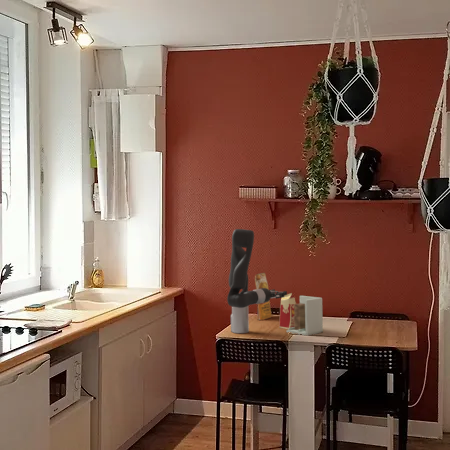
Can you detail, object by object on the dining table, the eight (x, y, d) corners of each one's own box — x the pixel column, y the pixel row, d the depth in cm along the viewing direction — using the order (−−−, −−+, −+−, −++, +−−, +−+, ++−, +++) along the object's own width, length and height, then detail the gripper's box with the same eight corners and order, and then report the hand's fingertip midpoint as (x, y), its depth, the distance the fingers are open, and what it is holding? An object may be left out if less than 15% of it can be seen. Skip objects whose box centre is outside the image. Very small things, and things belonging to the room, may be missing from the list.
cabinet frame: (286, 332, 395) (285, 298, 395) (301, 329, 404) (301, 295, 404) (307, 335, 384) (306, 300, 384) (322, 332, 393) (322, 297, 393)
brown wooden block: (294, 329, 396) (294, 304, 396) (301, 328, 400) (301, 303, 400) (300, 330, 393) (299, 305, 393) (307, 329, 397) (306, 303, 397)
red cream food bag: (299, 327, 410) (299, 292, 410) (289, 329, 404) (289, 294, 403) (287, 325, 417) (286, 291, 416) (277, 327, 410) (276, 293, 409)
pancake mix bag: (251, 320, 437) (250, 274, 436) (265, 315, 453) (264, 271, 452) (261, 321, 433) (260, 275, 432) (274, 316, 450) (274, 271, 449)
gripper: (269, 290, 367) (290, 286, 378) (249, 287, 377) (270, 283, 388) (269, 304, 367) (290, 300, 379) (249, 301, 378) (270, 297, 389)
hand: (280, 292), depth 383 cm, fingers open, 8 cm apart
